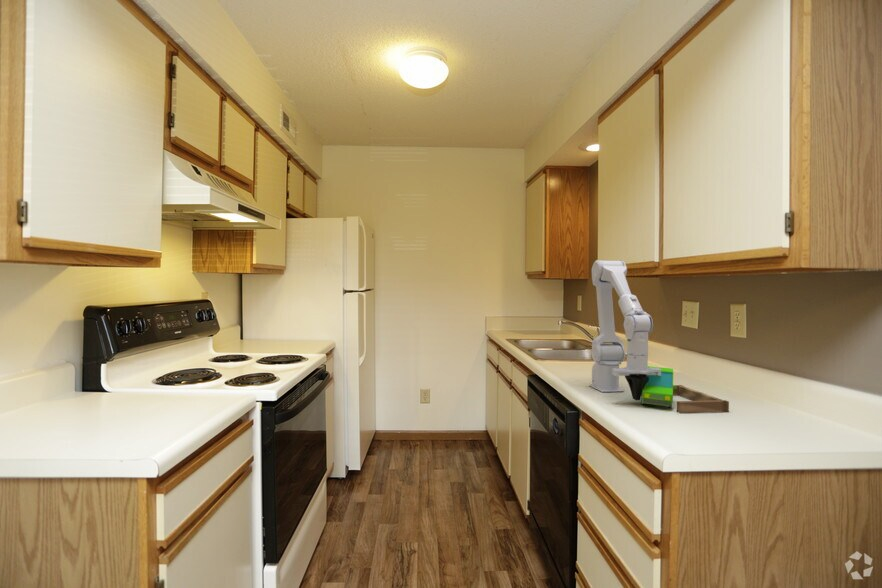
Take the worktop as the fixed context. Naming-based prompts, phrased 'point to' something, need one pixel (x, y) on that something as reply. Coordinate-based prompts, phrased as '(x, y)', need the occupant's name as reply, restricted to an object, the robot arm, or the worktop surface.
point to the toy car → (659, 388)
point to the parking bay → (698, 401)
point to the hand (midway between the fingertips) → (636, 399)
